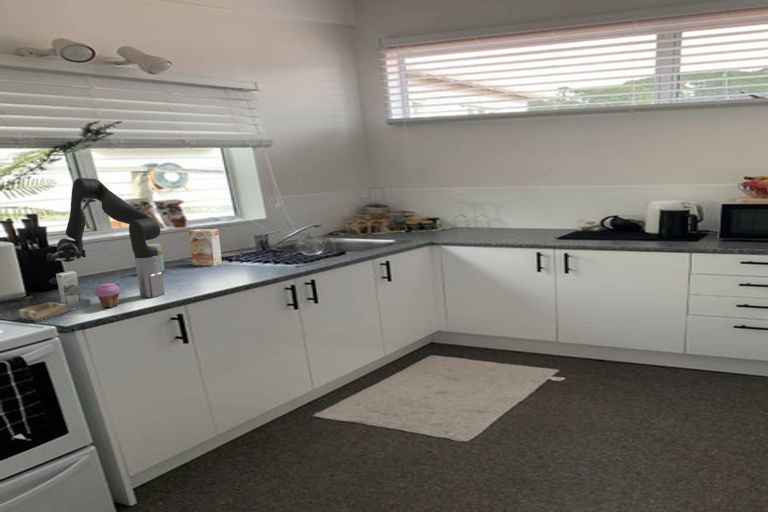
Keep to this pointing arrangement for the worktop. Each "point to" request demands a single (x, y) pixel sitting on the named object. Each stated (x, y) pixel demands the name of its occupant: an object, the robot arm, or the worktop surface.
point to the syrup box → (68, 287)
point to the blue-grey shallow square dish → (77, 303)
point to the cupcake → (108, 294)
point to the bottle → (159, 255)
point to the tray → (42, 311)
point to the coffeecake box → (205, 247)
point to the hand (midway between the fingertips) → (65, 257)
